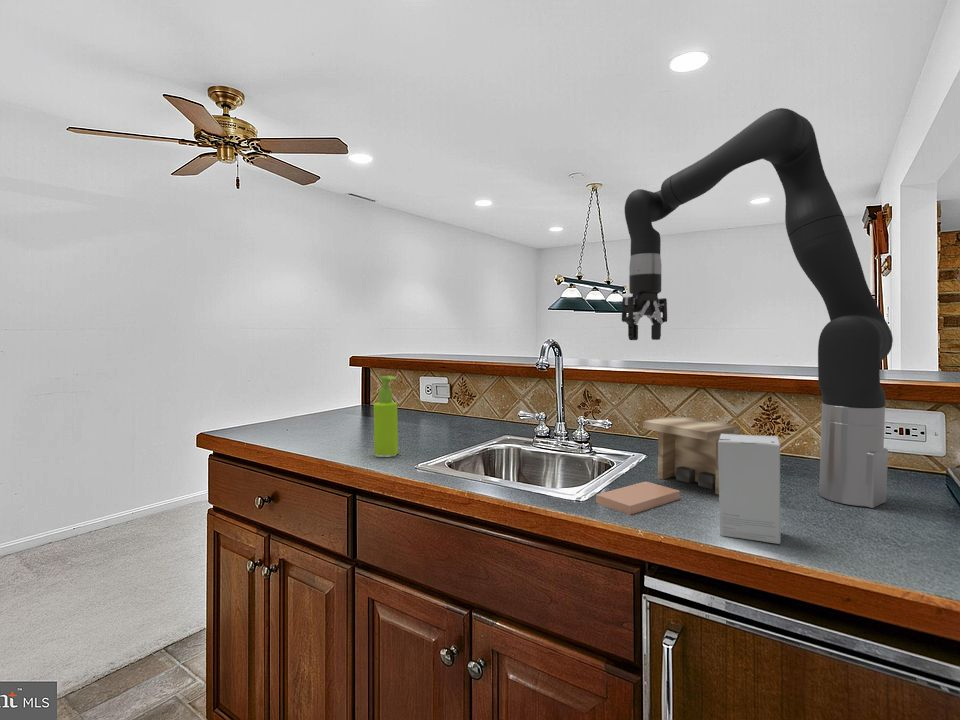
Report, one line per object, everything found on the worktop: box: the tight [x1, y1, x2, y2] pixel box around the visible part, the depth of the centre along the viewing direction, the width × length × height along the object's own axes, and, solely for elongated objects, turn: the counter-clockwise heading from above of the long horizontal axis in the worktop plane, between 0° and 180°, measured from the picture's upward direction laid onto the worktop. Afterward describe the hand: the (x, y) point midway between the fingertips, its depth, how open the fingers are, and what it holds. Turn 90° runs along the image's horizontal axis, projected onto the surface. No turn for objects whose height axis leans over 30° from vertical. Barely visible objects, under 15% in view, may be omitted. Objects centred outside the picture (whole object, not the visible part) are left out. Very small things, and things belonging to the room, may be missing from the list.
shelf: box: [642, 415, 741, 496], centre depth 101 cm, size 14×11×12 cm
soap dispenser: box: [373, 375, 399, 455], centre depth 128 cm, size 6×7×20 cm
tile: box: [595, 481, 681, 515], centre depth 93 cm, size 8×14×2 cm, turn 125°
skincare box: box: [718, 434, 782, 545], centre depth 77 cm, size 8×6×15 cm
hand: (644, 339), depth 127 cm, fingers open, 8 cm apart
